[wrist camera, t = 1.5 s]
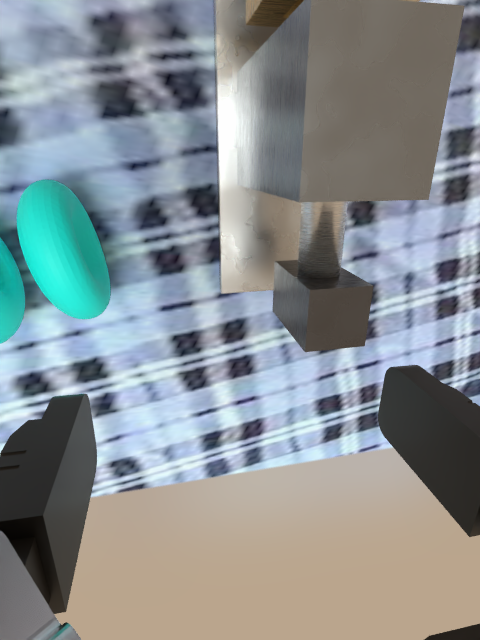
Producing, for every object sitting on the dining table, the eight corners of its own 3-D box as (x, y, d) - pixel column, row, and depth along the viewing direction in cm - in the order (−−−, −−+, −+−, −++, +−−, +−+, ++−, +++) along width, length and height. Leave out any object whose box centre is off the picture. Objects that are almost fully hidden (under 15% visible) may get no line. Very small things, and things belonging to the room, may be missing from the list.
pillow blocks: (211, -92, 25) (287, -423, 11) (348, -74, 27) (566, -337, 13) (219, 290, 36) (264, 376, 21) (318, 283, 38) (420, 359, 23)
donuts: (-55, 204, 29) (-149, 224, 20) (76, 172, 30) (42, 177, 21) (7, 319, 33) (-47, 379, 24) (120, 288, 34) (108, 334, 25)
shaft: (289, -145, 20) (353, -291, 13) (360, -134, 20) (452, -267, 14) (272, 311, 30) (305, 352, 23) (320, 307, 30) (364, 345, 24)
